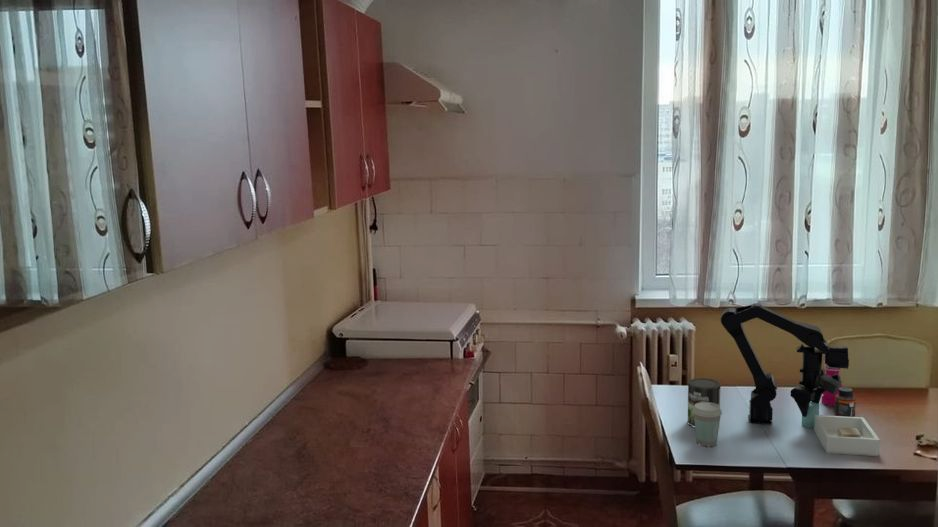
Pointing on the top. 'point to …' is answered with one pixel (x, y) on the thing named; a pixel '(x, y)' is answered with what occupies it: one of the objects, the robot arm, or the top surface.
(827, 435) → the tote
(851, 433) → the beige rectangular block
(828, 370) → the pepper mill
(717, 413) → the coffee cup
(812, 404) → the teal cylinder
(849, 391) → the supplement bottle
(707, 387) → the coffee can
